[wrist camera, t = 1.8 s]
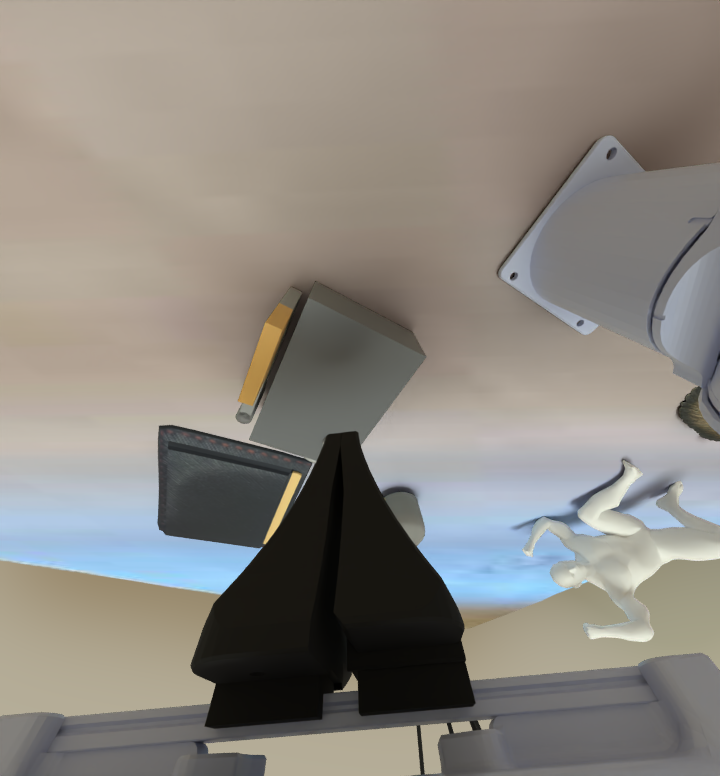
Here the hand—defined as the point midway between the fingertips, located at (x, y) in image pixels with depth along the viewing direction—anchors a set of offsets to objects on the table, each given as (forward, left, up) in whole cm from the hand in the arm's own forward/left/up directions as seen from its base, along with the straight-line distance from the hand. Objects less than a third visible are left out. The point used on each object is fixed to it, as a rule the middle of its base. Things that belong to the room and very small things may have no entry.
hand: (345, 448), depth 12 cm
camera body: (0, +2, -10) cm, 11 cm away
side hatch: (+5, +2, -10) cm, 11 cm away
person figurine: (-40, +6, -11) cm, 41 cm away
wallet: (+4, +23, -11) cm, 26 cm away
